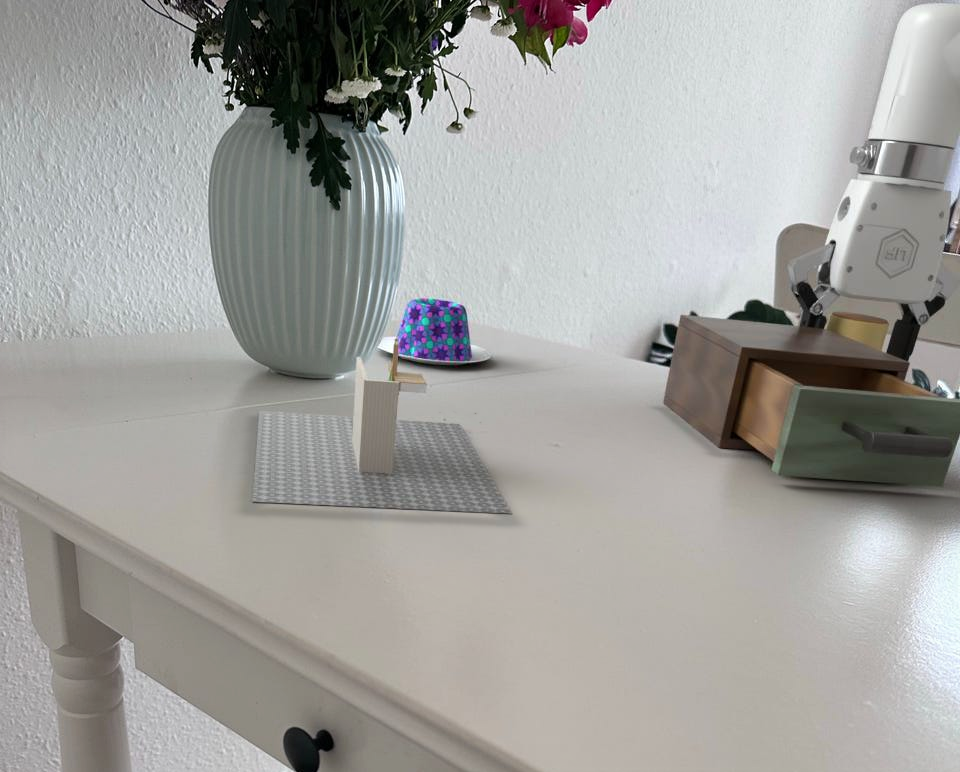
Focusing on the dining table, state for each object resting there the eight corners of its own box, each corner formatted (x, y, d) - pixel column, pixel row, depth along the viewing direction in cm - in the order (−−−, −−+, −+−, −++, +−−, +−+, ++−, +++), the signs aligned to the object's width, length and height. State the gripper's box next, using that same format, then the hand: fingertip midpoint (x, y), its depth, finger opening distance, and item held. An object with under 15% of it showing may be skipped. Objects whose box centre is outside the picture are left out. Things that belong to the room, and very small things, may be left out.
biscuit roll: (845, 405, 100) (871, 314, 96) (873, 420, 95) (901, 324, 91) (795, 401, 99) (819, 309, 95) (820, 415, 94) (847, 319, 90)
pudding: (436, 341, 106) (441, 291, 104) (514, 365, 99) (521, 312, 97) (350, 346, 98) (352, 292, 96) (428, 373, 91) (433, 316, 89)
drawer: (980, 508, 68) (1012, 420, 65) (806, 497, 66) (832, 405, 63) (854, 435, 84) (876, 363, 81) (711, 425, 82) (728, 349, 79)
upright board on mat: (407, 444, 69) (416, 330, 66) (419, 474, 63) (430, 351, 60) (352, 441, 69) (358, 325, 65) (358, 471, 63) (366, 345, 59)
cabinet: (880, 459, 81) (910, 362, 78) (718, 447, 79) (741, 346, 75) (804, 414, 94) (827, 328, 90) (662, 402, 91) (680, 314, 88)
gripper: (836, 157, 82) (785, 361, 90) (1014, 180, 86) (950, 375, 93) (798, 155, 89) (754, 345, 97) (964, 176, 92) (909, 358, 100)
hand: (850, 359), depth 95 cm, fingers open, 9 cm apart
